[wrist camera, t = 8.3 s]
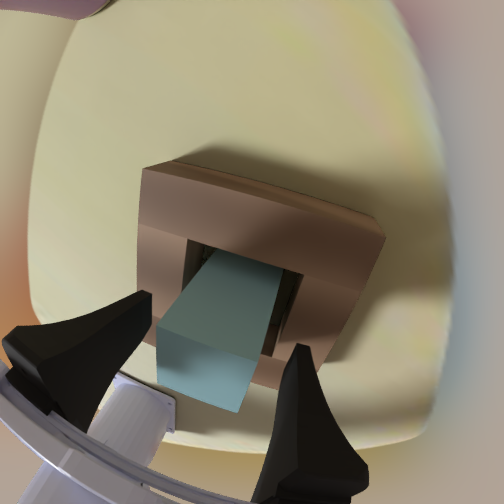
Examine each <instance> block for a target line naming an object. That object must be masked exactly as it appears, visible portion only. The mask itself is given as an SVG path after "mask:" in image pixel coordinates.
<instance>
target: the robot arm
mask: <svg viewBox="0 0 504 504" xmlns="http://www.w3.org/2000/svg"><path fill="white" fill-rule="evenodd" d="M151 325H152V293H149V292H147V291H144V290H140V291H137V292H135V293H133V294H131V295H129V296H127V297H125V298H123V299H121V300H119V301H117V302H115V303H113V304H110V305H108V306H106V307H104V308H101V309H99V310H96V311H94V312H92V313H89V314H86V315H83V316H80V317H77V318H74V319H70V320H65V321H61V322H56V323H51V324H43V325H32V326H16V327H15V328H14V329H13V330H12V331H11V332H10V333H9V334H8V335H6V336H5V337H4V338H3V339H2V346H3V348H4V350H5V352H6V354H7V356H8V358H9V360H10V362H11V364H12V366H13V367H12V368H11V369H9V368H8V367H7V366H6V364H5V363H4V362H3V361H2V360H1V359H0V420H1V422H2V423H3V424H4V425H5V426H6V427H7V428H8V429H9V430H10V431H11V432H12V433H13V434H14V435H15V436H16V437H17V438H18V439H19V440H20V441H21V442H23V443H24V444H25V445H26V446H27V447H28V448H29V449H30V450H31V451H33V452H34V453H35V454H36V455H37V456H38V457H40V458H41V459H42V460H43V461H44V463H43V464H42V465H41V467H40V468H39V470H38V471H37V473H36V474H35V476H34V477H33V479H32V480H31V482H30V483H29V485H28V486H27V488H26V490H25V491H24V493H23V494H22V496H21V497H20V499H19V501H18V502H17V504H180V503H177V502H175V501H173V500H170V499H168V498H166V497H164V496H161V495H159V494H157V493H155V492H153V491H151V490H150V488H149V486H151V487H153V488H156V489H158V490H160V491H163V492H165V493H168V494H171V495H173V496H175V497H178V498H181V499H183V500H186V501H189V502H192V503H195V504H350V503H351V497H352V496H354V495H356V494H358V493H360V492H362V491H364V490H365V489H366V488H367V487H368V486H369V471H368V465H367V464H366V463H365V462H364V461H363V459H362V458H361V457H360V456H359V455H358V454H357V453H356V451H355V450H354V449H353V447H352V446H351V445H350V443H349V442H348V441H347V439H346V437H345V436H344V434H343V433H342V431H341V429H340V428H339V426H338V424H337V423H336V421H335V419H334V417H333V415H332V413H331V411H330V409H329V406H328V404H327V402H326V399H325V397H324V394H323V391H322V389H321V386H320V383H319V379H318V376H317V373H316V369H315V365H314V361H313V357H312V353H311V348H310V346H307V345H304V344H300V343H296V345H295V348H294V350H293V352H292V354H291V356H290V358H289V360H288V362H287V364H286V366H285V368H284V371H283V375H282V378H281V382H280V386H279V392H278V400H277V407H276V414H275V421H274V428H273V433H272V437H271V440H270V444H269V448H268V451H267V455H266V458H265V461H264V464H263V468H262V471H261V474H260V477H259V480H258V482H257V485H256V488H255V491H254V493H253V496H252V499H251V501H250V502H247V501H242V500H238V499H234V498H230V497H227V496H223V495H220V494H216V493H213V492H209V491H206V490H203V489H200V488H197V487H194V486H191V485H188V484H186V483H183V482H180V481H178V480H175V479H173V478H170V477H168V476H165V475H163V474H161V473H158V472H156V471H154V470H151V469H149V468H147V466H148V465H149V464H150V463H151V461H152V459H153V457H154V455H155V453H156V451H157V449H158V447H159V445H160V443H161V441H162V439H163V437H164V435H165V433H166V431H167V432H169V433H172V434H173V433H174V432H175V399H174V398H172V397H170V396H168V395H165V394H163V393H161V392H159V391H156V390H154V389H152V388H150V387H148V386H146V385H143V384H141V383H139V382H137V381H135V380H133V379H131V378H129V377H127V376H125V375H123V374H121V373H119V372H118V371H119V370H120V368H121V367H122V366H123V364H124V363H125V362H126V361H127V359H128V358H129V357H130V356H131V354H132V353H133V352H134V350H135V349H136V348H137V347H138V345H139V344H140V343H141V341H142V340H143V339H144V337H145V335H146V334H147V332H148V330H149V329H150V327H151ZM112 380H113V383H114V387H115V391H114V392H113V393H112V395H111V396H110V398H109V399H108V400H107V402H106V403H105V405H104V406H103V408H102V409H101V410H100V412H99V413H98V415H97V416H96V418H95V419H94V421H93V422H92V419H93V417H94V415H95V412H96V410H97V408H98V406H99V404H100V402H101V400H102V398H103V396H104V394H105V393H106V391H107V389H108V387H109V385H110V384H111V382H112ZM91 422H92V424H91ZM90 424H91V425H90Z"/></svg>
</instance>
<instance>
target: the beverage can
mask: <svg viewBox="0 0 504 504" xmlns="http://www.w3.org/2000/svg"><path fill="white" fill-rule="evenodd" d="M110 1H111V0H0V9H1V10H15V11H25V12H33V13H39V14H46V15H51V16H57V17H62V18H67V19H71V20H80V19H83V18H86V17H89V16H91V15H93V14H95V13H97V12H98V11H100V10H101V9H102V8H104V7H105V6H106V5H107V4H108V3H109V2H110Z"/></svg>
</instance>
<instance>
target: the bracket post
mask: <svg viewBox="0 0 504 504" xmlns="http://www.w3.org/2000/svg"><path fill="white" fill-rule="evenodd" d="M283 269H284V268H280V267H277V266H274V265H271V264H267V263H264V262H261V261H258V260H254V259H251V258H248V257H245V256H241V255H238V254H235V253H232V252H228V251H225V250H222V249H219V248H217V249H216V250H215V252H214V253H213V254H212V255H211V256H210V258H209V259H208V260H207V261H206V263H205V264H204V265H203V266H202V268H201V269H200V270H199V271H198V273H197V274H196V275H195V276H194V278H193V279H192V280H191V281H190V283H189V284H188V285H187V286H186V288H185V289H184V290H183V291H182V293H181V294H180V295H179V296H178V298H177V299H176V300H175V302H174V303H173V304H172V305H171V307H170V308H169V309H168V310H167V312H166V313H165V314H164V316H163V317H162V318H161V319H160V321H159V322H158V323H157V325H156V360H157V383H158V384H160V385H163V386H165V387H167V388H170V389H172V390H174V391H177V392H179V393H182V394H184V395H187V396H189V397H192V398H194V399H197V400H200V401H202V402H205V403H208V404H211V405H214V406H217V407H219V408H222V409H225V410H228V411H232V412H235V413H238V411H239V408H240V406H241V403H242V401H243V398H244V396H245V394H246V391H247V389H248V386H249V384H250V381H251V379H252V376H253V374H254V371H255V368H256V366H257V363H258V360H259V357H260V353H261V350H262V346H263V343H264V339H265V336H266V332H267V329H268V325H269V322H270V318H271V314H272V311H273V307H274V303H275V300H276V296H277V292H278V288H279V285H280V281H281V277H282V273H283Z"/></svg>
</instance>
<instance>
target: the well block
mask: <svg viewBox="0 0 504 504" xmlns="http://www.w3.org/2000/svg"><path fill="white" fill-rule="evenodd" d="M385 239H386V237H385V235H384V233H383V232H382V230H381V228H380V227H379V225H378V223H377V222H376V220H375V218H373V217H371V216H368V215H365V214H362V213H359V212H356V211H353V210H351V209H348V208H345V207H342V206H339V205H335V204H332V203H329V202H326V201H323V200H320V199H317V198H314V197H310V196H307V195H304V194H300V193H297V192H294V191H290V190H287V189H283V188H280V187H276V186H273V185H269V184H266V183H262V182H258V181H255V180H251V179H247V178H243V177H239V176H235V175H231V174H227V173H223V172H219V171H215V170H211V169H206V168H202V167H198V166H193V165H189V164H184V163H179V162H175V161H167V162H164V163H160V164H157V165H153V166H150V167H146V168H143V169H142V178H141V189H140V201H139V216H138V237H137V291H140V290H144V291H147V292H149V293H152V325H151V327H150V329H149V330H148V332H147V334H146V335H145V337H144V339H143V340H142V341H143V342H145V343H148V344H150V345H152V346H154V347H156V325H157V323H158V322H159V321H160V319H161V318H162V317H163V316H164V314H165V313H166V312H167V310H168V309H169V308H170V307H171V305H172V304H173V303H174V302H175V300H176V299H177V298H178V296H179V295H180V294H181V293H182V291H183V290H184V289H185V288H186V286H187V285H188V284H189V283H190V281H191V280H192V279H193V278H194V276H195V275H196V274H197V273H198V271H199V270H200V269H201V263H202V256H203V250H204V244H206V245H209V246H212V247H216V248H219V249H222V250H225V251H228V252H232V253H235V254H238V255H241V256H245V257H248V258H251V259H254V260H258V261H261V262H264V263H267V264H271V265H274V266H277V267H280V268H284V269H287V270H290V271H294V272H297V273H299V274H298V277H297V280H296V283H295V286H294V288H293V291H292V294H291V296H290V299H289V302H288V305H287V307H286V310H285V312H284V315H283V318H282V320H281V323H280V326H276V325H272V324H269V325H268V329H267V332H266V336H265V339H264V343H263V346H262V350H261V353H260V357H259V360H258V363H257V366H256V368H255V371H254V374H253V376H252V379H251V381H250V382H252V383H255V384H259V385H262V386H266V387H269V388H273V389H276V390H279V386H280V382H281V378H282V375H283V371H284V368H285V366H286V364H287V362H288V360H289V358H290V356H291V354H292V352H293V350H294V348H295V345H296V343H300V344H304V345H307V346H310V348H311V353H312V357H313V361H314V365H315V369H316V373H317V372H318V370H319V369H320V367H321V365H322V364H323V362H324V360H325V359H326V357H327V355H328V354H329V352H330V350H331V348H332V347H333V345H334V343H335V341H336V340H337V338H338V336H339V334H340V333H341V331H342V329H343V327H344V325H345V323H346V321H347V320H348V318H349V316H350V314H351V312H352V310H353V308H354V306H355V304H356V302H357V300H358V298H359V296H360V294H361V292H362V290H363V288H364V286H365V284H366V282H367V280H368V278H369V275H370V273H371V271H372V269H373V267H374V265H375V262H376V260H377V258H378V256H379V253H380V251H381V249H382V246H383V244H384V242H385Z"/></svg>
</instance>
